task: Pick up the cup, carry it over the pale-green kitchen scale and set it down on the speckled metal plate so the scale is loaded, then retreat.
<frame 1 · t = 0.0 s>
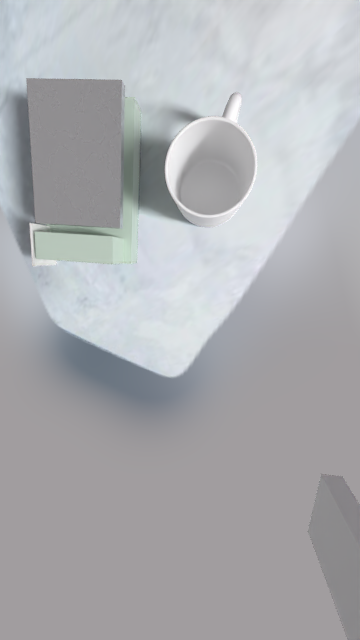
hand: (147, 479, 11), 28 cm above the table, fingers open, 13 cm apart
speckled metal plate: (81, 161, 30), point 4 cm above the table, slide at -0.3 cm, touching scale base
scale base: (97, 190, 35), on the table
cup: (214, 179, 33), on the table
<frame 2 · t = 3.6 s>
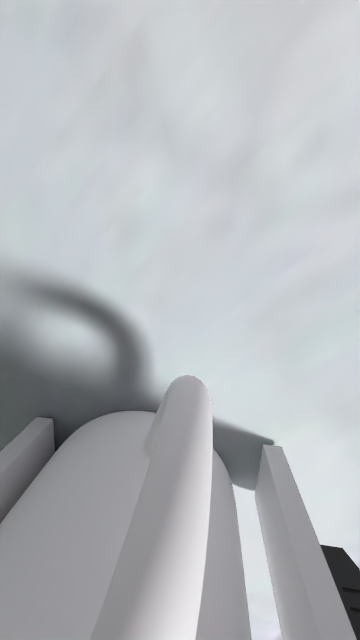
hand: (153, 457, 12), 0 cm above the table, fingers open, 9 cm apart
cup: (156, 449, 12), on the table, touching gripper
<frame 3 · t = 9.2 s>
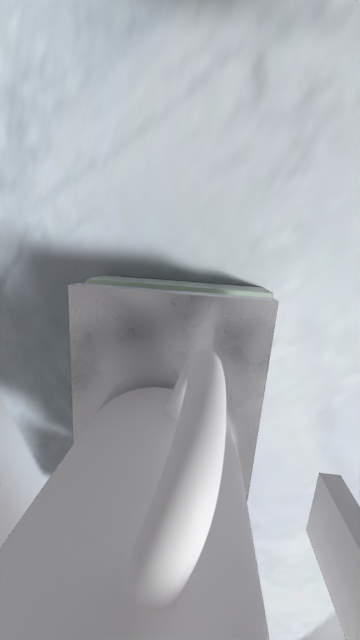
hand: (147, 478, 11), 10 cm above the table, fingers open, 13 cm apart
speckled metal plate: (166, 407, 16), point 4 cm above the table, slide at -0.3 cm, touching cup, scale base
scale base: (173, 398, 21), on the table
cup: (171, 421, 14), point 6 cm above the table, touching speckled metal plate
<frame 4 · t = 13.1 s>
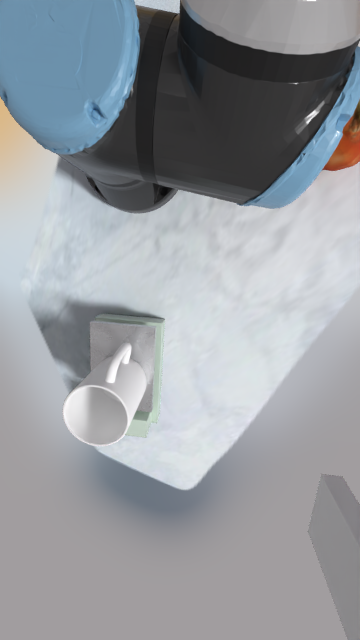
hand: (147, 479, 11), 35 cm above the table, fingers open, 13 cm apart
speckled metal plate: (124, 364, 43), point 4 cm above the table, slide at -0.3 cm, touching cup, scale base
tomato: (328, 143, 37), on the table
scale base: (131, 365, 48), on the table
cup: (125, 368, 42), point 6 cm above the table, touching speckled metal plate
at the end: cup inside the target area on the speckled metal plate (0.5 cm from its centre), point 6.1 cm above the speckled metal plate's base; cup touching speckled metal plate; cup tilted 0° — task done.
